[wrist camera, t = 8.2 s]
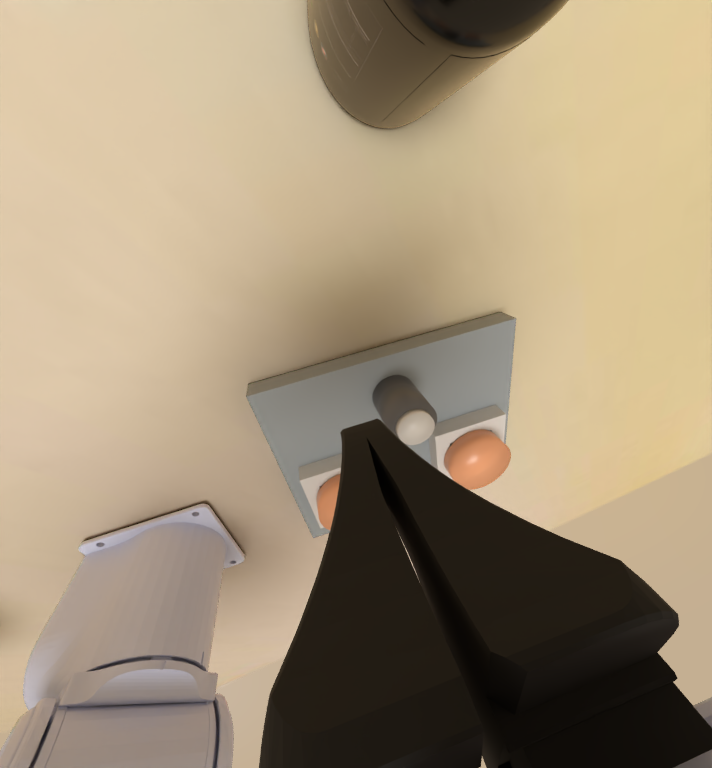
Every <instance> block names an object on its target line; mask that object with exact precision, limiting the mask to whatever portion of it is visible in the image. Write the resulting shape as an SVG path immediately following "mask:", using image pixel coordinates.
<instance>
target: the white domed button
mask: <svg viewBox="0 0 712 768" xmlns="http://www.w3.org/2000/svg"><path fill="white" fill-rule="evenodd" d="M372 399H373V403H374V406H375V407H376V409H377V411H378V413H379V415H380V417H381V419H382V421H383V423H384V424H385V425H386V426H387V427H388V428H389V429H390V430H391V431H392V432H393V433H394V434H395V435H396V436H397V437H398V438H399V439H400V440H401V441H402V442H403V443H405V444H406V445H417V444H420V443H422V442H424V441H425V440H427V439H428V438H429V437H430V436H431V435H432V433H433V431H434V428H435V426H436V424H437V413H436V411H435V410H434V408H433V407H432V406H431V405H430V403H429V402H428V401H427V400H426V399H425V397H424V396H423V395H422V394H421V392H420V391H419V390H418V389H417V388H416V386H415V385H414V384H413V383H412V381H411V380H410V379H409V378H407V377H405V376H402V375H392V376H389V377H387V378H385V379H383V380H382V381H380V382H379V383H378V385H377V386H376V387H375V389H374V391H373V396H372Z"/></svg>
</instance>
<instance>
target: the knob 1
mask: <svg viewBox="0 0 712 768" xmlns="http://www.w3.org/2000/svg"><path fill="white" fill-rule="evenodd" d="M339 482H340V474H339V475H336V476H334V477H332V478H331V479H329V480H328V481H327V482H325V483H324V484H323V485H322V487H321V488H320V489H319V491H318V493H317V498H316V501H317V508H318V515H319V520H320V523H321V524H322V526H323V527H325V528H326V529H328V530H330V529H331V525H332V521H333V516H334V512H335V507H336V501H337V495H338V489H339Z"/></svg>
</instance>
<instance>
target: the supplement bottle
mask: <svg viewBox="0 0 712 768" xmlns="http://www.w3.org/2000/svg"><path fill="white" fill-rule="evenodd" d="M567 2H568V0H307V10H308V25H309V33H310V39H311V44H312V48H313V52H314V56H315V59H316V62H317V65H318V68H319V70H320V72H321V75H322V77H323V79H324V81H325V83H326V85H327V87H328V88H329V90H330V91H331V93H332V95H333V96H334V97H335V99H336V100H337V101H338V102H339V104H340V105H341V106H342V107H343V108H344V109H345V110H346V111H347V112H348V113H349V114H351V115H352V116H353V117H355V118H356V119H358V120H360V121H361V122H363V123H366V124H368V125H371V126H374V127H379V128H396V127H400V126H404V125H406V124H409V123H411V122H413V121H415V120H417V119H418V118H420V117H421V116H423V115H424V114H426V113H427V112H429V111H430V110H432V109H433V108H434V107H436V106H437V105H439V104H440V103H441V102H443V101H444V100H445V99H447V98H448V97H449V96H451V95H452V94H454V93H455V92H456V91H458V90H459V89H460V88H462V87H463V86H464V85H466V84H467V83H469V82H470V81H471V80H473V79H474V78H475V77H477V76H478V75H479V74H481V73H482V72H483V71H485V70H486V69H488V68H489V67H490V66H492V65H493V64H494V63H496V62H497V61H498V60H500V59H501V58H503V57H504V56H505V55H507V54H508V53H509V52H511V51H512V50H513V49H515V48H516V47H518V46H519V45H520V44H522V43H523V42H524V41H526V40H527V39H528V38H529V37H531V36H532V35H533V34H534V33H535V32H537V31H538V30H539V29H540V28H541V27H543V26H544V25H545V24H546V23H547V22H548V21H549V20H551V19H552V18H553V17H554V16H555V15H556V14H557V13H558V12H559V11H560V10H561V9H562V8H563V6H564V5H565V4H566V3H567Z"/></svg>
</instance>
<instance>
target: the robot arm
mask: <svg viewBox="0 0 712 768" xmlns="http://www.w3.org/2000/svg"><path fill="white" fill-rule="evenodd" d="M340 434H341V440H342V462H341V473H340V482H339V489H338V495H337V501H336V507H335V512H334V516H333V521H332V525H331V529H330V533H329V537H328V541H327V544H326V548H325V551H324V555H323V558H322V561H321V565H320V568H319V571H318V574H317V577H316V580H315V583H314V586H313V588H312V591H311V594H310V597H309V599H308V602H307V605H306V608H305V610H304V613H303V616H302V618H301V621H300V624H299V626H298V629H297V631H296V634H295V636H294V638H293V641H292V643H291V645H290V648H289V650H288V652H287V655H286V657H285V659H284V662H283V664H282V666H281V669H280V672H279V673H278V676H277V678H276V680H275V683H274V685H273V688H272V690H271V693H270V696H269V701H268V706H267V712H266V718H265V723H264V730H263V738H262V744H261V755H260V763H259V768H479V767H481V758H482V756H483V759H484V762H485V764H486V767H487V768H712V697H711V698H709V699H707V700H705V701H703V702H700V703H698V704H696V705H694V706H693V705H692V704H691V703H690V702H689V700H688V699H687V698H686V697H685V696H684V695H683V693H682V692H681V691H680V690H679V689H678V688H677V686H676V685H675V684H674V683H673V681H675V680H676V679H677V677H676V675H675V672H674V671H673V670H672V669H671V668H670V667H669V665H668V664H667V663H666V662H665V661H664V660H663V659H662V657H661V656H660V655H659V654H658V653H657V652H658V651H659V650H660V648H662V646H663V645H664V644H665V643H666V642H667V640H669V638H670V637H671V636H672V635H673V634H674V632H675V631H676V629H677V628H678V626H679V620H678V614H677V613H676V612H675V611H674V610H673V609H672V608H671V607H670V606H669V605H668V604H667V603H666V602H665V601H664V600H663V599H662V598H661V597H660V596H659V595H658V594H657V593H656V592H655V591H654V590H653V589H652V588H651V587H650V586H649V585H648V584H647V583H646V582H645V581H644V580H642V579H641V578H640V577H639V576H638V575H637V574H635V573H634V572H633V571H632V570H631V569H629V568H628V567H627V566H626V565H625V564H624V563H623V562H622V561H620V560H618V559H616V558H613V557H610V556H608V555H606V554H603V553H600V552H598V551H595V550H593V549H590V548H588V547H585V546H583V545H580V544H578V543H575V542H573V541H570V540H568V539H565V538H563V537H560V536H558V535H556V534H554V533H552V532H549V531H547V530H545V529H543V528H541V527H538V526H536V525H534V524H532V523H530V522H528V521H526V520H524V519H522V518H520V517H518V516H516V515H514V514H512V513H510V512H508V511H506V510H504V509H502V508H500V507H498V506H496V505H494V504H492V503H490V502H489V501H487V500H485V499H483V498H482V497H480V496H478V495H476V494H475V493H473V492H471V491H470V490H468V489H466V488H465V487H463V486H462V485H460V484H458V483H457V482H455V481H454V480H452V479H451V478H449V477H448V476H446V475H445V474H443V473H442V472H440V471H439V470H438V469H436V468H435V467H433V466H432V465H431V464H429V463H428V462H427V461H425V460H424V459H423V458H422V457H420V456H419V455H418V454H417V453H415V452H414V451H413V450H412V449H411V448H409V447H408V446H407V445H406V444H405V443H403V442H402V441H401V440H400V439H399V438H398V437H397V436H396V435H395V434H394V433H393V432H392V431H391V430H390V429H389V428H388V427H387V426H386V425H385V424H384V423H383V422H382V421H381V420H379V419H374V420H371V421H368V422H365V423H361V424H358V425H355V426H352V427H348V428H345V429H343V430H342V431H341V433H340ZM396 528H397V529H396ZM398 533H399V534H398ZM399 535H400V536H399ZM400 537H401V538H400ZM401 539H402V541H403V543H404V545H405V548H406V550H407V552H408V554H409V556H410V559H411V561H412V563H413V566H414V568H415V571H416V573H417V575H416V573H415V571H414V568H413V566H412V564H411V562H410V559H409V557H408V555H407V552H406V550H405V548H404V545H403V543H402V541H401ZM78 549H79V551H80V552H81V553H83V554H84V555H85V557H84V558H83V560H82V562H81V564H80V565H79V567H78V569H77V571H76V573H75V574H74V576H73V578H72V580H71V581H70V583H69V585H68V587H67V588H66V590H65V592H64V594H63V595H62V597H61V599H60V601H59V603H58V604H57V606H56V608H55V610H54V611H53V613H52V615H51V617H50V618H49V620H48V622H47V624H46V625H45V627H44V629H43V631H42V633H41V634H40V636H39V638H38V640H37V641H36V643H35V645H34V648H33V650H32V652H31V655H30V657H29V660H28V664H27V667H26V671H25V677H24V684H23V696H24V701H25V704H26V707H27V709H28V711H27V712H26V713H25V714H23V715H22V716H21V717H20V718H19V719H18V721H17V722H16V724H15V725H14V727H13V729H12V731H11V732H10V734H9V736H8V738H7V739H6V741H5V743H4V745H3V747H2V749H1V750H0V768H232V758H233V740H234V738H233V723H232V717H231V714H230V711H229V708H228V704H227V701H226V700H225V697H224V696H223V695H221V694H215V692H216V685H217V677H218V674H217V673H210V672H208V667H209V660H210V654H211V647H212V641H213V634H214V627H215V621H216V614H217V608H218V601H219V595H220V588H221V581H222V575H223V569H225V568H228V567H231V566H234V565H237V564H240V563H242V562H243V561H244V560H245V555H244V553H243V552H242V551H241V549H240V548H239V546H238V545H237V544H236V542H235V541H234V540H233V538H232V537H231V535H230V534H229V533H228V531H227V530H226V528H225V527H224V526H223V524H222V523H221V521H220V520H219V519H218V517H217V516H216V514H215V513H214V512H213V510H212V509H211V508H210V506H209V505H207V504H199V505H196V506H193V507H190V508H186V509H183V510H180V511H177V512H174V513H171V514H168V515H165V516H161V517H158V518H155V519H152V520H149V521H146V522H143V523H140V524H136V525H133V526H130V527H127V528H124V529H121V530H118V531H115V532H111V533H108V534H105V535H102V536H99V537H96V538H93V539H90V540H86V541H84V542H82V543H81V544H80V546H79V548H78ZM417 576H418V578H417ZM418 579H419V580H418ZM419 581H420V582H419Z"/></svg>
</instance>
